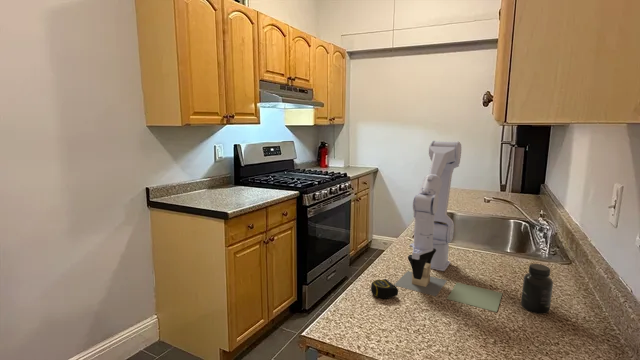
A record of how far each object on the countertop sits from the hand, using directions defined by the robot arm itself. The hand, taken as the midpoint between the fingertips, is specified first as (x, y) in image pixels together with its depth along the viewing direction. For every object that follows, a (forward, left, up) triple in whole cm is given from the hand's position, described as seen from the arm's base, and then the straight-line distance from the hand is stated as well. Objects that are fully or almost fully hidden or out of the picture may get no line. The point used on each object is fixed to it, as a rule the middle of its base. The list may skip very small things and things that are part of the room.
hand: (421, 274), depth 112 cm
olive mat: (0, +16, -3) cm, 16 cm away
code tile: (0, 0, -3) cm, 3 cm away
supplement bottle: (-2, +31, -3) cm, 31 cm away
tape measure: (+13, -7, -3) cm, 15 cm away
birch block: (0, 0, -3) cm, 3 cm away
